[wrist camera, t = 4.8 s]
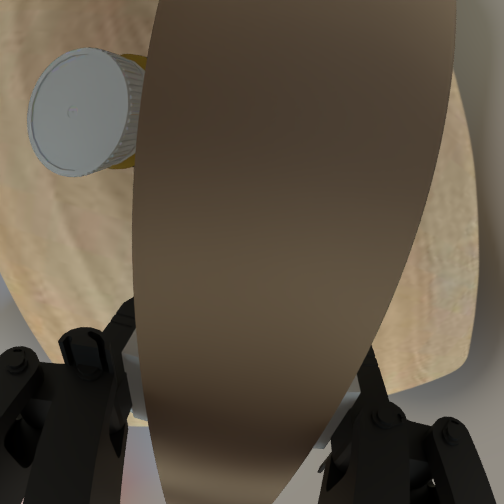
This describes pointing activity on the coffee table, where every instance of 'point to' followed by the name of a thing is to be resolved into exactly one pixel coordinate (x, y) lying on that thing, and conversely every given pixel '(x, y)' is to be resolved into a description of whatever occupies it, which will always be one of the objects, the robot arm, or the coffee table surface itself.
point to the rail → (274, 220)
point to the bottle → (87, 112)
